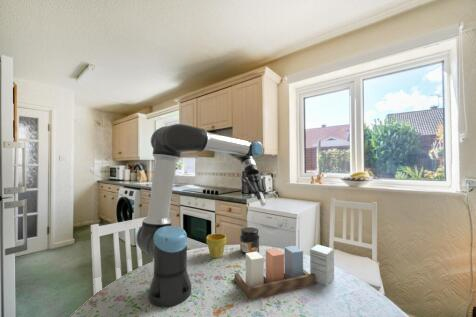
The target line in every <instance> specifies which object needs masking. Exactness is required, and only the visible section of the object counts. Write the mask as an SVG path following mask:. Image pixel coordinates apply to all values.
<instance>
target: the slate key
mask: <svg viewBox="0 0 476 317" xmlns="http://www.w3.org/2000/svg"><path fill="white" fill-rule="evenodd" d="M303 269H304V250H303V249H300V248H299V247H297V246H296V245H290V246H284V273H285V274H286V275H287V276H288V277H289V278H293V277H298V276H303Z"/></svg>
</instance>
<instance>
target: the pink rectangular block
mask: <svg viewBox="0 0 476 317" xmlns="http://www.w3.org/2000/svg"><path fill="white" fill-rule="evenodd" d="M284 273H285V253H284V252H282V251H280V250H279V249H278V248H271V249H266V250H265V278H266V279H267V280H268V281H269V282H274V281H279V280H284Z"/></svg>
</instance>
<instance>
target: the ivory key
mask: <svg viewBox="0 0 476 317" xmlns="http://www.w3.org/2000/svg"><path fill="white" fill-rule="evenodd" d="M264 260H265V259H264V256H262V254H260V253H258V252H250V253H246V255H245V283H246V285H247V286H248V287H251V286H256V285H260V284H264V277H265V276H264V274H265V273H264V268H265V267H264Z"/></svg>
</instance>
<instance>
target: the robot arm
mask: <svg viewBox="0 0 476 317" xmlns="http://www.w3.org/2000/svg"><path fill="white" fill-rule="evenodd" d="M150 144H151V145H150V146H151V147H152V156H153V158H154V159H155V162H154V169H153V175H152V182H151V189H150V190H151V191H150V195H149V196H150V197H149V202H148V209H147V215H146V217H145V218H143V219H142V223H141V226H140V227H139V229H138V230H137V232H136V234H135V242H136V244H137V246H138V247H139V250H141V251H142V253H145V254H146V255H148V257H150V258H152V259H153V276H152V278H151V283H150V286H149V287H148V288H149V289H148V301H149V303H150V304H152V305H153V306H155V307H161V308H164V307H167V308H168V307H173V306H176V305H179V304H181V303H183V302H184V301H186V300H187V299H188V298H189V296H191V293H192V282H191V279H190V276H189V274H188V270H187V265H188V263H187V262H188V261H187V259H188V256H187V255H188V254H187V252H188V248H187V247H188V234H187V232H186V231H185V229H184V228H183V227H180V226H174V225H172V224H173V222H172V220H171V219H170V212H171V211H170V210H171V204H172V203H171V202H172V196H173V190H174V182H175V181H174V180H175V174H176V166H177V162H178V161H179V160H181V155H182V153H185V152H186V153H187V152H203V151H208V152H209V151H211V152H219V153H225V154H227V155H229V156H231V157H232V158H234V159H236V160H238V161H240V163H241V166H242V170H243V173H244V174H245V176H244V177H243V179H242V182H243V183H244V184H245V185H246V187H247V188H248V190H249V191H250V193H251V194H252V195H254V196H255V197H256V199H257V200H258V201H259V202H260V206H261V207H264V206H266V204H267V201H266V199H265V198H266V195H265V194H266V192H267V186H266V176H262V175H261V174H260V172H259V169H258V167H257V164H256V161H255V159H254V157H259V156H261V155H262V154H263V153H264V152H263V150H264V147H263V144H262V143H261V142H260V141H256V140H255V141H250V140H245V139H239V138H236V137H235V138H234V137H231V136H225V135H222V134H221V135H220V134H217V133H213V132H208V131H207V130H206V129H204V128H200V127H195V126H193V125H188V124H185V123H184V124H183V123H175V124H170V125H165V126H162V127H159V128H157V129H156V130H154V132H152V135H151V137H150Z"/></svg>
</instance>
